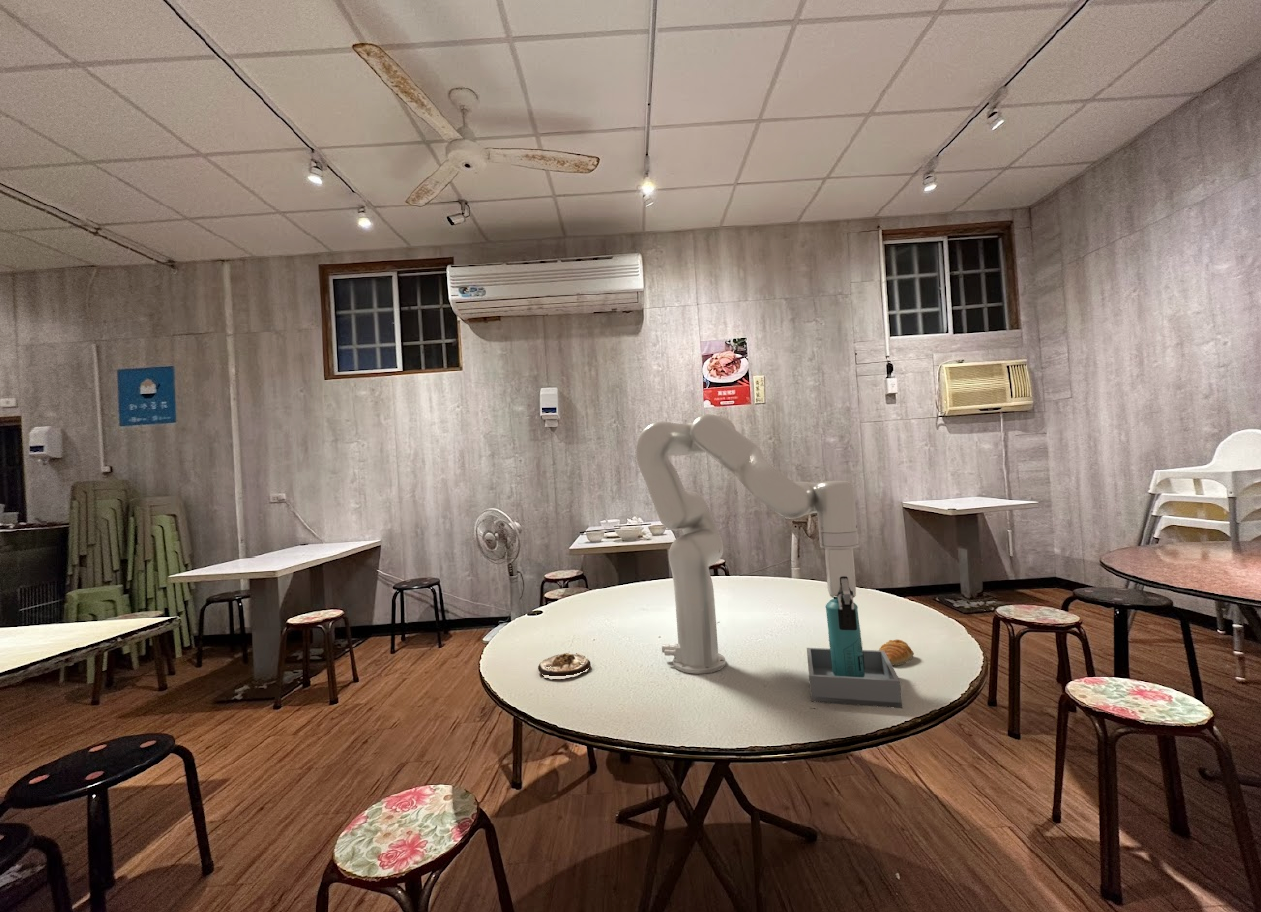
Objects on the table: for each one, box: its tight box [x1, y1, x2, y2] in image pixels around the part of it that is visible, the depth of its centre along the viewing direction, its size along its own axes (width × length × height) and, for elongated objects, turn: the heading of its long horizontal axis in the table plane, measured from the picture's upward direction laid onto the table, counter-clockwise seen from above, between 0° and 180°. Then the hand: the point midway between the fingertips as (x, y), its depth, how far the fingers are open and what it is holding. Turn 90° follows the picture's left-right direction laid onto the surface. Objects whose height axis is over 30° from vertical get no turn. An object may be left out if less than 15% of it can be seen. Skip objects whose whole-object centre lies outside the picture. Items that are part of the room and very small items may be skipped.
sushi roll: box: [537, 651, 591, 676], centre depth 122 cm, size 15×15×4 cm
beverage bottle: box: [825, 583, 866, 677], centre depth 103 cm, size 6×7×20 cm
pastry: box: [878, 639, 915, 666], centre depth 115 cm, size 9×7×4 cm
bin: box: [806, 647, 903, 709], centre depth 102 cm, size 16×16×5 cm
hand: (845, 622), depth 103 cm, fingers open, 9 cm apart
